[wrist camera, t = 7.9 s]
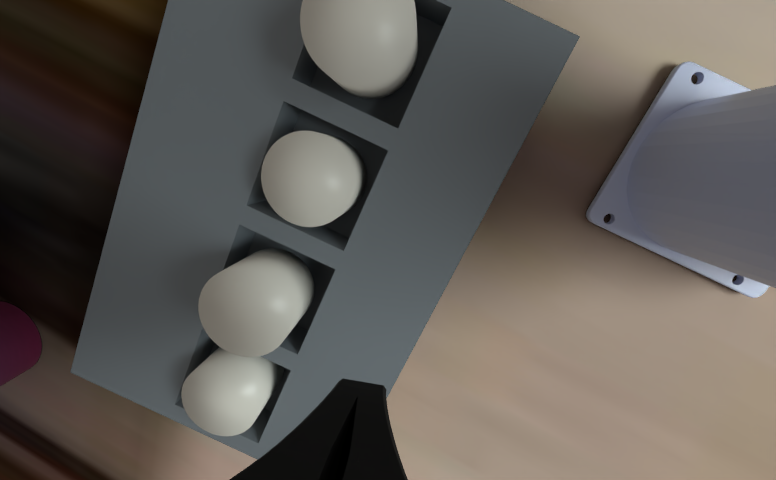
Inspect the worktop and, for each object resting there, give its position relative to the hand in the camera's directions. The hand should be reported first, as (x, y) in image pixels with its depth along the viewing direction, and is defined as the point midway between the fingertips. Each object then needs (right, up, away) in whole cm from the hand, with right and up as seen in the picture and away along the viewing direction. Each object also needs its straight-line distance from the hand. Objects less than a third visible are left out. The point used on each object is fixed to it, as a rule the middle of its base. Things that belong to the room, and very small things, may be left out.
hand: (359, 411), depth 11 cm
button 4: (-7, -2, +11) cm, 13 cm away
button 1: (0, +13, +5) cm, 14 cm away
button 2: (-2, +8, +8) cm, 12 cm away
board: (-4, +6, +9) cm, 12 cm away
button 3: (-5, +3, +8) cm, 10 cm away
